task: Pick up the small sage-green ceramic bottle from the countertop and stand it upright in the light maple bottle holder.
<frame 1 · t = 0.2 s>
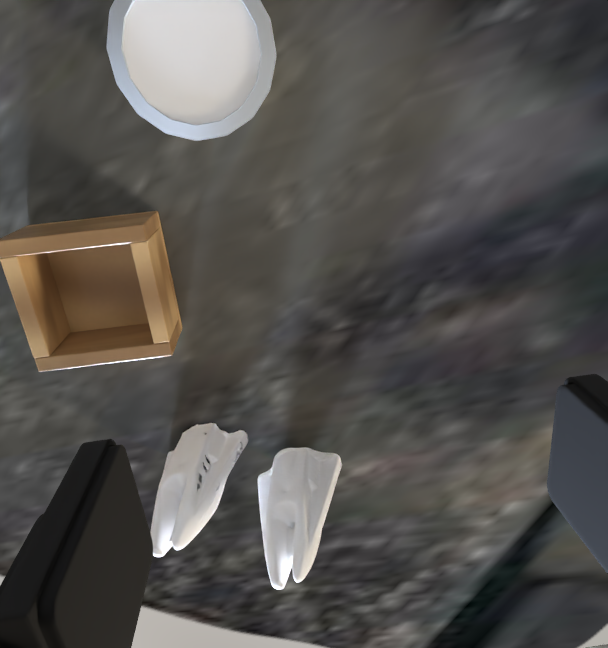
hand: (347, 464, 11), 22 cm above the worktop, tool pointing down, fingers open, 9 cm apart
shaker set: (253, 448, 37), on the worktop
holder: (109, 279, 31), on the worktop
white cup: (208, 67, 27), on the worktop
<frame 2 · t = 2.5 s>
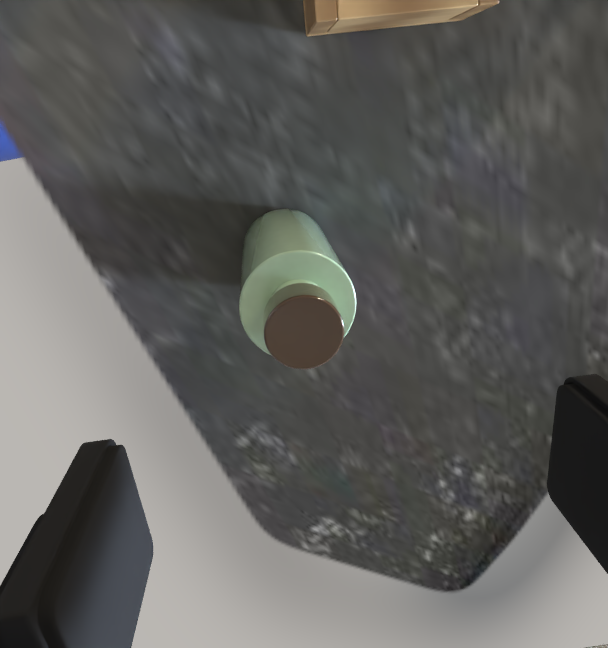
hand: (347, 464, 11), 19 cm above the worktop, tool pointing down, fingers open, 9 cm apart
bottle: (284, 250, 28), on the worktop
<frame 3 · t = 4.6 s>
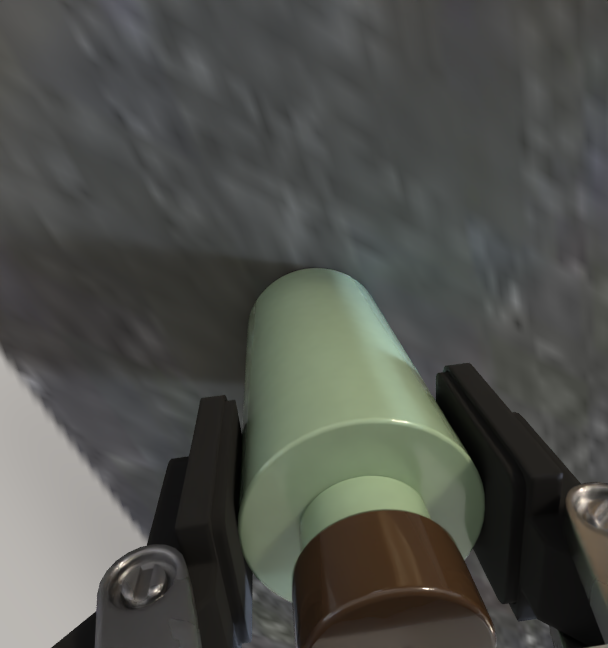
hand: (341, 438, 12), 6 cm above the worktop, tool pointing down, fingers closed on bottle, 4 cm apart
bottle: (314, 331, 17), on the worktop, touching gripper
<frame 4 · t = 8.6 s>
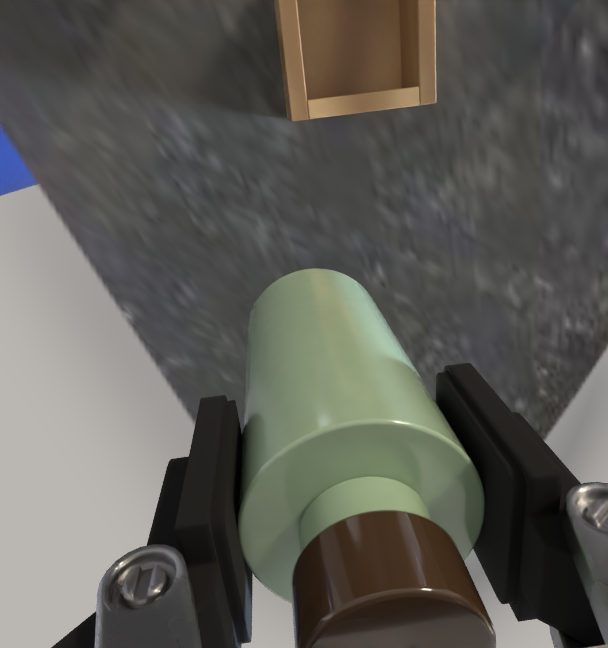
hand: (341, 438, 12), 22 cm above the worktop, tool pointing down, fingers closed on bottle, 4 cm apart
holder: (346, 39, 28), on the worktop
bottle: (313, 331, 17), point 16 cm above the worktop, touching gripper
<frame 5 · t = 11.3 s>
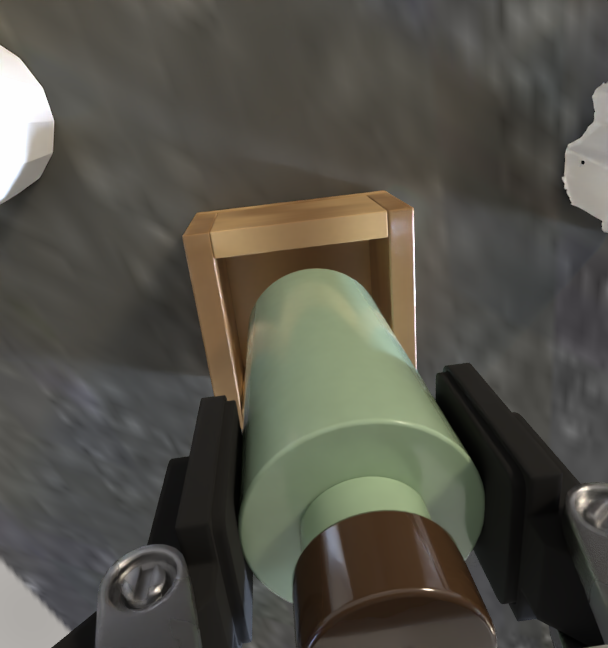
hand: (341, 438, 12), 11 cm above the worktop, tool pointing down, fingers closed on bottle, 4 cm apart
holder: (301, 290, 21), on the worktop
bottle: (314, 331, 17), point 4 cm above the worktop, touching gripper
when the fingers open (7 cm above the worktop, at t = 12.8 s): bottle stays where it is, resting on holder.
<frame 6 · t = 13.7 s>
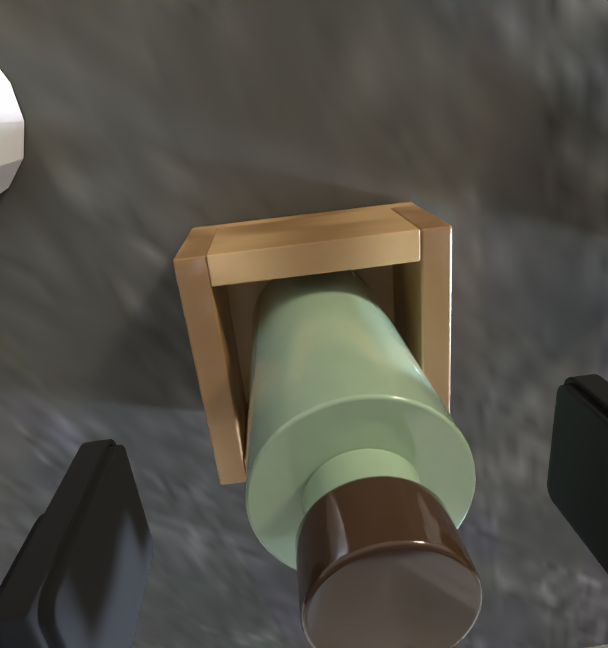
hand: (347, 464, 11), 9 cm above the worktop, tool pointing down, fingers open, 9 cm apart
holder: (312, 316, 19), on the worktop
bottle: (315, 322, 18), point 1 cm above the worktop, touching holder
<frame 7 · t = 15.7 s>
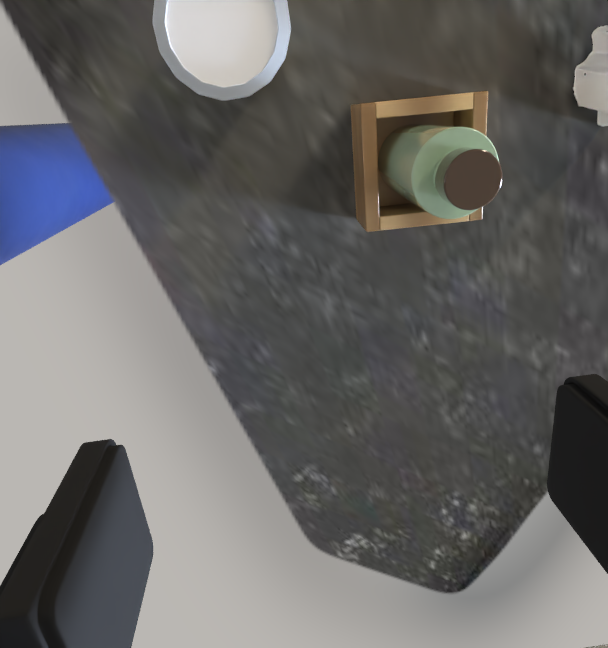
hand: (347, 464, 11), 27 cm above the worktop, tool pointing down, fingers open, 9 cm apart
holder: (408, 159, 35), on the worktop
bottle: (411, 159, 34), point 1 cm above the worktop, touching holder
white cup: (232, 43, 32), on the worktop
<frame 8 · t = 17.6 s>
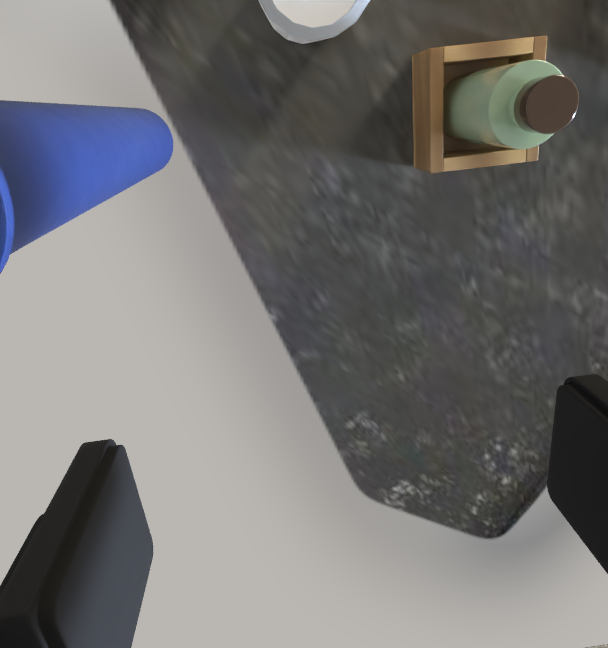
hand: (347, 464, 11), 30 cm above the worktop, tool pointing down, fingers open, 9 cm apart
holder: (463, 107, 37), on the worktop
bottle: (467, 107, 36), point 1 cm above the worktop, touching holder
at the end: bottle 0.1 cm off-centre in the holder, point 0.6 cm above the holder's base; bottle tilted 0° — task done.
